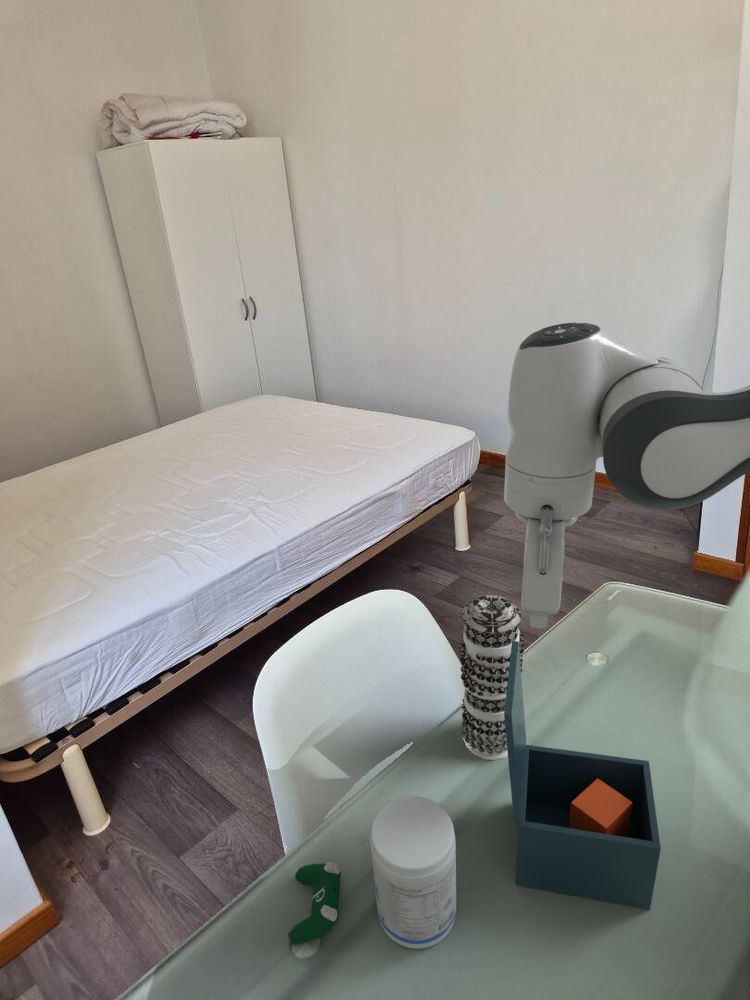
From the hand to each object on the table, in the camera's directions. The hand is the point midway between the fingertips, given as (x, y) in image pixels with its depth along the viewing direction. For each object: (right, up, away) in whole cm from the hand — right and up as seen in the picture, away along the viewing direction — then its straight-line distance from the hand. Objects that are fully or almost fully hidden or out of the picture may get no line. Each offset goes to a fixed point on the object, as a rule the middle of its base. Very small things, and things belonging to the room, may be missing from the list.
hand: (539, 598), depth 76 cm
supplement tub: (-13, -39, +6) cm, 41 cm away
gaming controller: (-25, -39, +7) cm, 47 cm away
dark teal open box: (+8, -34, +12) cm, 37 cm away
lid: (-1, -16, +5) cm, 17 cm away
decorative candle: (0, -26, +30) cm, 40 cm away
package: (+10, -33, +12) cm, 37 cm away
